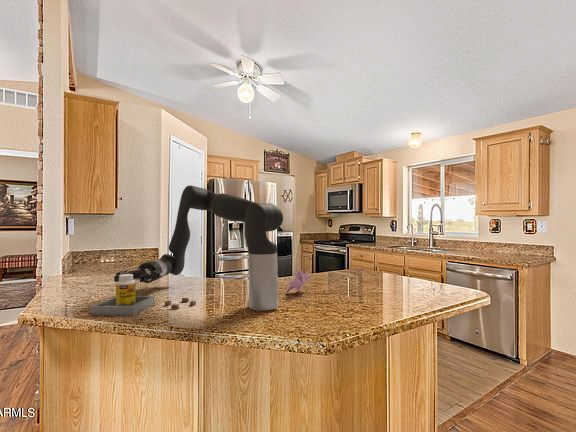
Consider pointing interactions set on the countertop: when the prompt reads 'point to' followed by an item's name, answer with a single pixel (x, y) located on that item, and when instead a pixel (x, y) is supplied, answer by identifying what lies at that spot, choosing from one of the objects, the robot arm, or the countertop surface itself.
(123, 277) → the supplement bottle
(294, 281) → the lily
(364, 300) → the countertop surface
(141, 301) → the tray
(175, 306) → the set of brown cubes
